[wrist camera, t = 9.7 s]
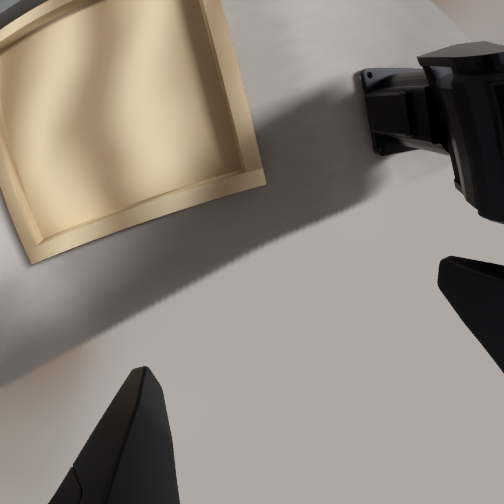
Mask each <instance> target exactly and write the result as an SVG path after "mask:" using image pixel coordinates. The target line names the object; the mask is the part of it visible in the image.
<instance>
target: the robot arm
mask: <svg viewBox="0 0 504 504" xmlns="http://www.w3.org/2000/svg"><path fill="white" fill-rule="evenodd" d="M417 59H418V62H419V64H420V66H422V67H423V69H411V68H368V69H364V70H362V72H361V78H362V83H363V88H364V93H365V102H366V108H367V114H368V120H369V126H370V130H371V134H372V141H373V148H374V152H375V153H376V154H377V155H380V156H384V155H389V154H394V153H399V152H405V151H410V150H415V149H423V150H427V151H432V152H436V153H440V154H445V155H449V156H450V157H451V161H452V166H453V170H454V175H455V179H454V183H455V187H456V188H457V189H458V190H459V191H460V192H461V193H462V194H463V195H464V197H465V199H466V201H467V202H468V203H470V204H471V205H472V206H473V207H475V208H476V209H478V214H479V215H480V216H481V217H483V218H485V219H488V220H490V221H494V222H497V223H501V224H504V46H503V45H498V44H494V43H490V42H485V41H482V42H472V43H464V44H457V45H453V46H450V47H447V48H443V49H440V50H437V51H434V52H431V53H427V54H424V55H421V56H418V57H417ZM367 73H368V74H369V75H370V77H369V78H368V77H367ZM380 146H381V147H382V150H381V151H380V150H379V148H380ZM438 287H439V289H440V290H441V292H442V293H443V294H444V296H445V297H446V298H447V300H448V301H449V303H450V304H451V305H452V307H453V308H454V310H455V311H456V313H457V314H458V315H459V317H460V318H461V320H462V321H463V322H464V323H465V325H466V326H467V327H468V328H469V330H470V331H471V332H472V333H473V334H474V336H475V337H476V338H477V339H478V341H479V342H480V343H481V344H482V346H483V347H484V348H485V349H486V351H487V352H488V353H489V355H490V356H491V357H492V358H493V360H494V361H495V362H496V364H497V365H498V366H499V368H500V369H501V370H502V372H503V373H504V266H503V265H498V264H493V263H487V262H483V261H477V260H471V259H466V258H461V257H455V256H448V257H446V258H444V259H442V260H441V261H440V264H439V272H438ZM48 504H180V500H179V493H178V486H177V478H176V469H175V460H174V451H173V442H172V436H171V431H170V426H169V421H168V416H167V411H166V405H165V400H164V394H163V390H162V387H161V386H160V384H159V382H158V381H157V379H156V378H155V376H154V375H153V373H152V372H151V370H150V369H149V368H148V367H146V366H143V367H139V368H135V369H133V370H132V371H131V372H130V374H129V376H128V377H127V379H126V380H125V382H124V384H123V385H122V386H121V388H120V390H119V391H118V393H117V394H116V396H115V397H114V399H113V400H112V402H111V404H110V405H109V407H108V408H107V410H106V412H105V413H104V415H103V417H102V418H101V419H100V421H99V423H98V424H97V426H96V428H95V429H94V431H93V432H92V434H91V435H90V437H89V439H88V440H87V442H86V444H85V445H84V447H83V449H82V450H81V452H80V454H79V455H78V457H77V459H76V460H75V462H74V463H73V467H71V468H70V470H69V472H68V473H67V475H66V477H65V478H64V480H63V482H62V483H61V485H60V487H59V488H58V490H57V492H56V493H55V494H54V496H53V497H52V499H51V500H50V502H49V503H48Z"/></svg>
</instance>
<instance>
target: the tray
mask: <svg viewBox="0 0 504 504" xmlns="http://www.w3.org/2000/svg"><path fill="white" fill-rule="evenodd" d="M47 1H48V0H0V30H1V29H2V28H4V27H5V26H6V25H8V24H9V23H11V22H13V21H14V20H16V19H17V18H19V17H20V16H22V15H24V14H25V13H27V12H29V11H30V10H32V9H34V8H36V7H37V6H39V5H41V4H43V3H45V2H47Z"/></svg>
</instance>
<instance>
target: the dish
mask: <svg viewBox="0 0 504 504" xmlns="http://www.w3.org/2000/svg"><path fill="white" fill-rule="evenodd" d="M263 185H267V184H266V179H265V175H264V170H263V166H262V162H261V157H260V153H259V149H258V144H257V140H256V136H255V132H254V127H253V123H252V119H251V115H250V111H249V107H248V103H247V99H246V95H245V91H244V87H243V83H242V79H241V75H240V71H239V67H238V63H237V59H236V55H235V51H234V48H233V44H232V40H231V36H230V33H229V29H228V25H227V21H226V18H225V14H224V10H223V7H222V3H221V0H48V1H47V2H45V3H43V4H41V5H39V6H37V7H36V8H34V9H32V10H30V11H29V12H27V13H25V14H24V15H22V16H20V17H19V18H17V19H16V20H14V21H13V22H11V23H9V24H8V25H6V26H5V27H4V28H2V29H1V30H0V187H1V190H2V193H3V196H4V199H5V202H6V205H7V207H8V210H9V213H10V215H11V218H12V220H13V223H14V225H15V228H16V230H17V233H18V235H19V237H20V240H21V242H22V244H23V246H24V249H25V251H26V253H27V255H28V257H29V259H30V261H31V264H34V263H37V262H39V261H42V260H44V259H46V258H49V257H51V256H54V255H56V254H59V253H61V252H64V251H66V250H69V249H72V248H74V247H77V246H79V245H82V244H85V243H87V242H90V241H92V240H95V239H98V238H101V237H103V236H106V235H109V234H111V233H114V232H117V231H120V230H123V229H125V228H128V227H131V226H134V225H137V224H140V223H143V222H146V221H149V220H152V219H155V218H158V217H161V216H164V215H167V214H170V213H173V212H176V211H179V210H182V209H185V208H188V207H192V206H195V205H198V204H201V203H204V202H208V201H211V200H214V199H218V198H221V197H224V196H228V195H231V194H235V193H238V192H242V191H245V190H249V189H252V188H256V187H259V186H263Z"/></svg>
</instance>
